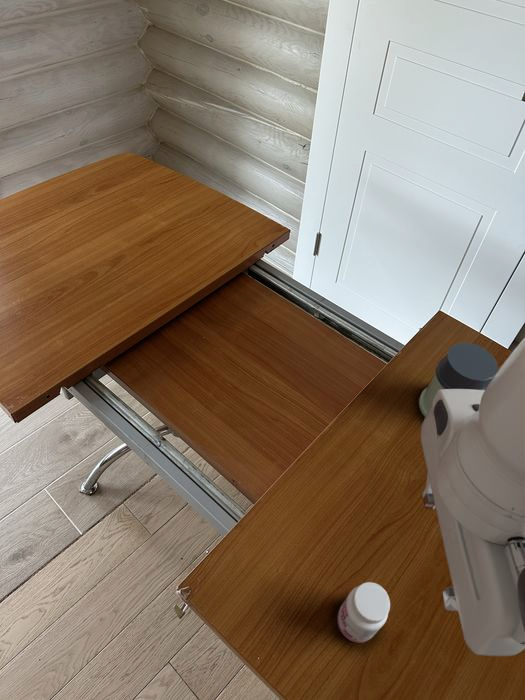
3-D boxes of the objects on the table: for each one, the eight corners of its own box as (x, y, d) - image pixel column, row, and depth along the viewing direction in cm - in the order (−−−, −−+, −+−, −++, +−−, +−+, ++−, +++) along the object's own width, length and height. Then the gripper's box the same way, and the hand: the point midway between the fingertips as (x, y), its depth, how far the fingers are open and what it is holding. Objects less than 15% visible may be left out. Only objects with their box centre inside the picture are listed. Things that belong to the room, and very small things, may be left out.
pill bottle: (329, 609, 63) (342, 587, 57) (362, 594, 65) (379, 571, 58) (349, 650, 60) (364, 631, 54) (383, 633, 62) (402, 613, 56)
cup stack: (483, 416, 85) (515, 369, 76) (445, 439, 81) (474, 393, 72) (444, 379, 90) (470, 331, 81) (407, 399, 86) (430, 351, 77)
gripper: (598, 634, 32) (505, 677, 43) (502, 379, 46) (449, 458, 56) (500, 630, 32) (430, 674, 42) (433, 374, 46) (392, 455, 56)
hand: (440, 549), depth 49 cm, fingers open, 8 cm apart
